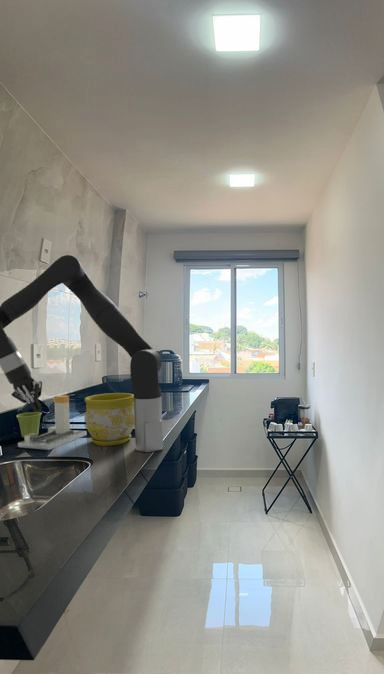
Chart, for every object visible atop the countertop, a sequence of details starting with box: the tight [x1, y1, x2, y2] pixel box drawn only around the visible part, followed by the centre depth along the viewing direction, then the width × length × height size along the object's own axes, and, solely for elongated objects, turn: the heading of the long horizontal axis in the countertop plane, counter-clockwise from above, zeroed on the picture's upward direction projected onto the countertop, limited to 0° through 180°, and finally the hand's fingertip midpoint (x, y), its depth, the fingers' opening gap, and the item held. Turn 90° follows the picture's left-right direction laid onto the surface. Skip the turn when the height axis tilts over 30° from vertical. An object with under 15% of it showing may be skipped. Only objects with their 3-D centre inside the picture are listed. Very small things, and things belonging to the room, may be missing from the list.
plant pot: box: [16, 411, 43, 439], centre depth 157 cm, size 9×9×9 cm
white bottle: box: [53, 394, 71, 434], centre depth 152 cm, size 5×3×14 cm
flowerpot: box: [84, 392, 135, 447], centre depth 144 cm, size 18×18×16 cm
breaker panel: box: [17, 425, 88, 451], centre depth 148 cm, size 14×21×4 cm, turn 158°
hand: (38, 410), depth 137 cm, fingers closed
